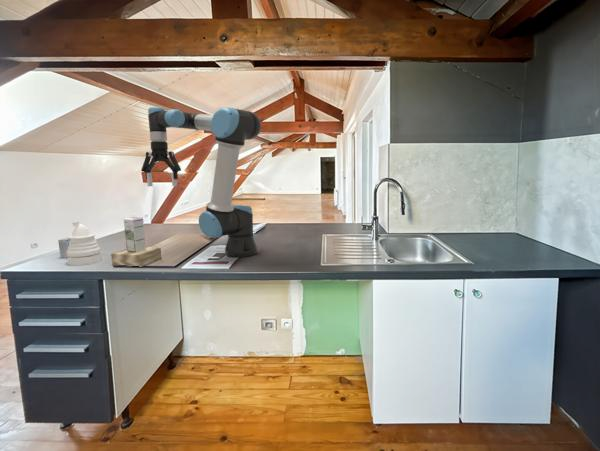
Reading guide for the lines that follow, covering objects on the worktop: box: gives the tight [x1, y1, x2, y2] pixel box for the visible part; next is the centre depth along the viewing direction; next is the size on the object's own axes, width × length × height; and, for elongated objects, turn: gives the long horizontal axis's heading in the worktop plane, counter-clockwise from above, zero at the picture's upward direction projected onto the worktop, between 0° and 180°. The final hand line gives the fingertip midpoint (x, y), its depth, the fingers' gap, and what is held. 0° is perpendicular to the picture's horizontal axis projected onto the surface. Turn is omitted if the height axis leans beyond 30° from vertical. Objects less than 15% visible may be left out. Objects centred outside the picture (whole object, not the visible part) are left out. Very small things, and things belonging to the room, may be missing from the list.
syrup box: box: [123, 216, 147, 252], centre depth 154 cm, size 6×6×14 cm
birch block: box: [110, 246, 162, 268], centre depth 156 cm, size 14×14×5 cm
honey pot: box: [66, 221, 103, 266], centre depth 157 cm, size 13×13×18 cm
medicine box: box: [57, 237, 70, 259], centre depth 168 cm, size 8×4×9 cm, turn 168°
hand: (162, 186), depth 173 cm, fingers open, 13 cm apart
